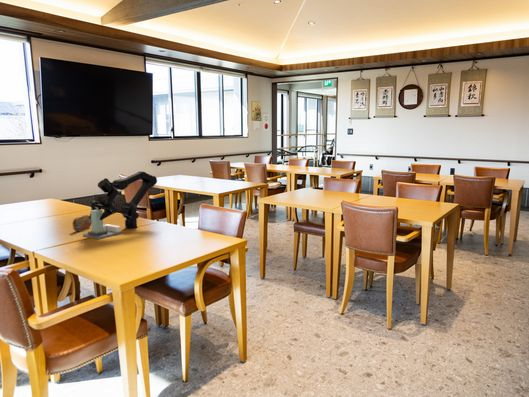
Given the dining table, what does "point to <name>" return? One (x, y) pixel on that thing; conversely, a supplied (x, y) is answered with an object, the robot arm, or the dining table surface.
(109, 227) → the baseplate
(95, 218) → the post
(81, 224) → the tin
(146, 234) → the dining table surface
